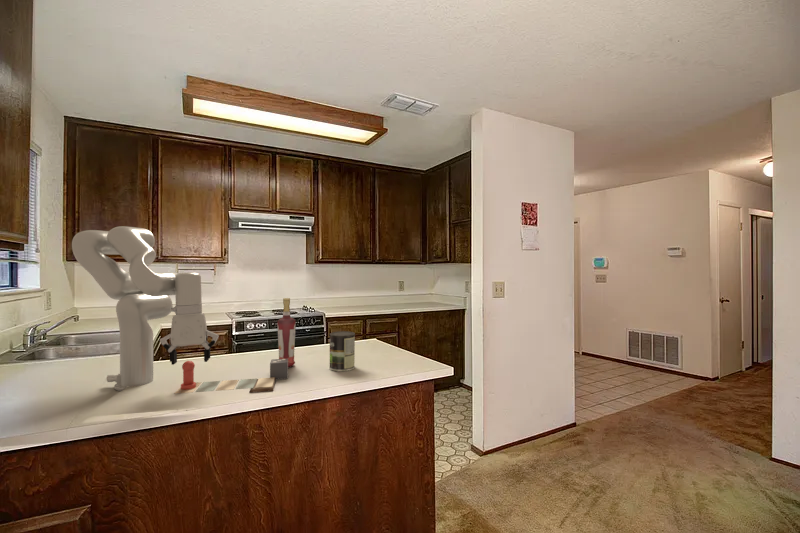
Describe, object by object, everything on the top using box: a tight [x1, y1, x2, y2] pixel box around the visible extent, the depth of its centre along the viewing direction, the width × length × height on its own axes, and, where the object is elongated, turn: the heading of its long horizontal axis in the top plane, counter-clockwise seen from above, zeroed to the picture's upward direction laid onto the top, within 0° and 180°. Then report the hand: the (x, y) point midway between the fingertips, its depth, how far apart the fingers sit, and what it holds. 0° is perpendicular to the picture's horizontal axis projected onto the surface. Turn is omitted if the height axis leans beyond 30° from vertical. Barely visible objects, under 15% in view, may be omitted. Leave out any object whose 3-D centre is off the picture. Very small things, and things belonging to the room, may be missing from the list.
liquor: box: [277, 297, 297, 369], centre depth 158 cm, size 7×7×28 cm
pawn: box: [180, 360, 197, 390], centre depth 127 cm, size 4×4×9 cm
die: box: [269, 358, 289, 380], centre depth 143 cm, size 6×6×6 cm
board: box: [173, 377, 276, 395], centre depth 129 cm, size 30×12×1 cm, turn 104°
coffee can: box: [328, 330, 356, 372], centre depth 156 cm, size 10×10×14 cm
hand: (190, 362), depth 126 cm, fingers open, 9 cm apart
